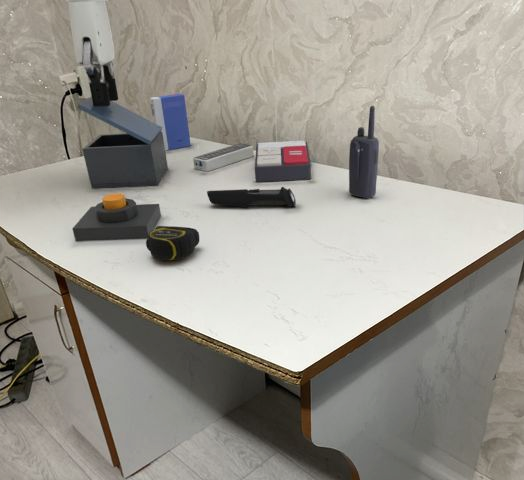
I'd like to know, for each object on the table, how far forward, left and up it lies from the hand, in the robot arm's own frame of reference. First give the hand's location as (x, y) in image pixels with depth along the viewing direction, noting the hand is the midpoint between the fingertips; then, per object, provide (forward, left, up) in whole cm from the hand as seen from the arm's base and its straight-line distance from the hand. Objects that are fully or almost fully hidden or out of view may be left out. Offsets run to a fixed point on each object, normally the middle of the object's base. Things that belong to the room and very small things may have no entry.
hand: (106, 102), depth 105 cm
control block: (+7, -28, -15) cm, 32 cm away
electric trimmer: (+29, -20, -15) cm, 38 cm away
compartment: (+2, 0, -15) cm, 15 cm away
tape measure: (+18, -39, -15) cm, 46 cm away
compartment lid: (+2, 0, -3) cm, 4 cm away
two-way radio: (+48, -17, -15) cm, 53 cm away
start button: (+7, -28, -11) cm, 31 cm away
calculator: (+34, +1, -15) cm, 37 cm away
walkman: (+7, +24, -15) cm, 29 cm away
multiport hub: (+21, +9, -15) cm, 27 cm away
